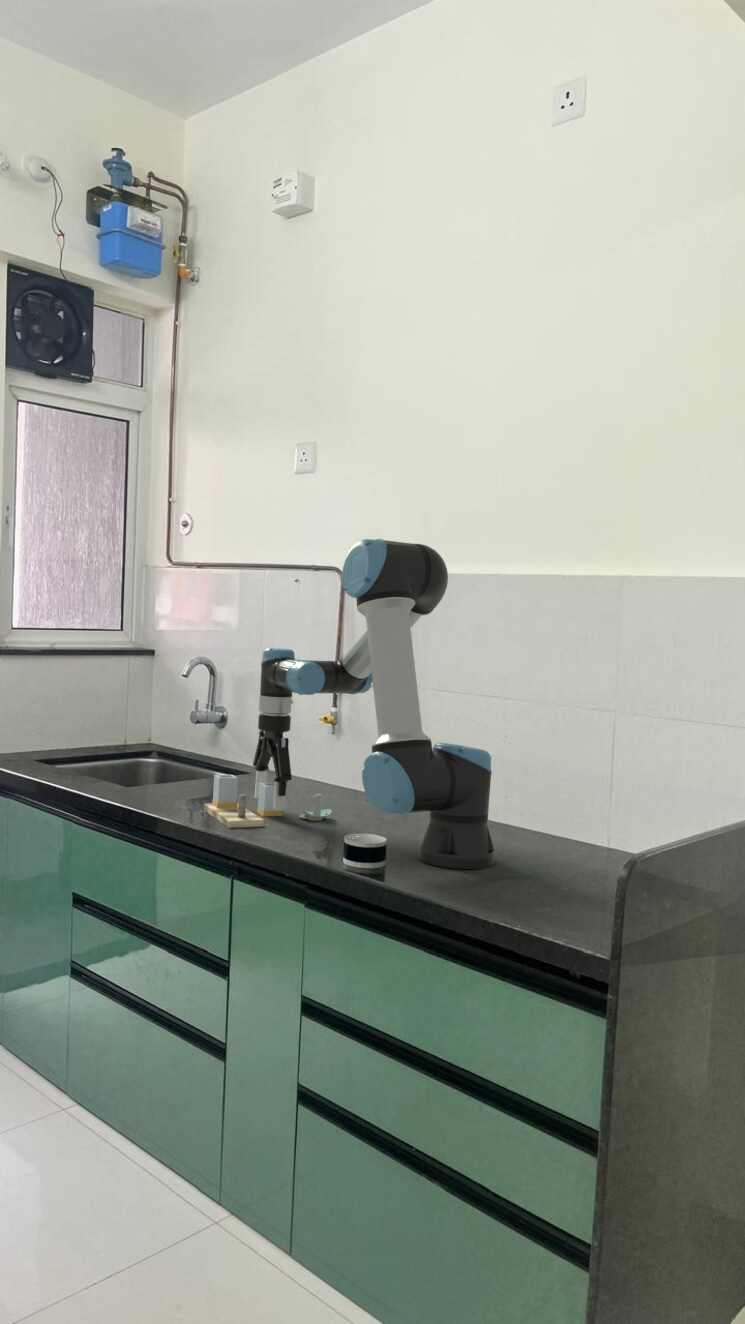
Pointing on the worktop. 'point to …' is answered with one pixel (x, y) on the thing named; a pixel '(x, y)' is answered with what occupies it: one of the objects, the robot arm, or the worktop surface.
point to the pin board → (235, 815)
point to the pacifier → (316, 809)
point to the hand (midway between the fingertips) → (269, 803)
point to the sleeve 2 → (267, 800)
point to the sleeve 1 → (225, 791)
